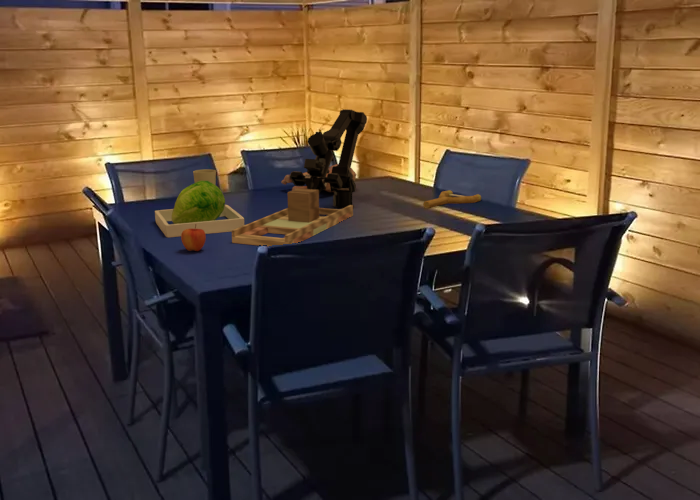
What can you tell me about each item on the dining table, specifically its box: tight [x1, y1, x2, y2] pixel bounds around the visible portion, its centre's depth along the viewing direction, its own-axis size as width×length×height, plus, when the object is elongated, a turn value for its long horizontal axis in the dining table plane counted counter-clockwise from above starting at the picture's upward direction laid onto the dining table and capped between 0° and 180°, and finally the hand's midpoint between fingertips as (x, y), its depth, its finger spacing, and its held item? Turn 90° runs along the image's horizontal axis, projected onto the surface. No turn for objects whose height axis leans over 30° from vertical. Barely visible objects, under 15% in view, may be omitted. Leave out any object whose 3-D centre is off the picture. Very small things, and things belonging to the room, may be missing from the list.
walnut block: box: [287, 188, 320, 223], centre depth 268 cm, size 8×8×10 cm
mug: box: [192, 168, 217, 186], centre depth 315 cm, size 11×10×12 cm
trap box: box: [231, 204, 354, 247], centre depth 264 cm, size 51×20×4 cm, turn 157°
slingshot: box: [422, 190, 482, 209], centre depth 305 cm, size 18×3×25 cm
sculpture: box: [280, 163, 357, 194], centre depth 330 cm, size 12×26×30 cm
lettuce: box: [171, 181, 226, 224], centre depth 269 cm, size 17×20×17 cm
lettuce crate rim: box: [154, 204, 245, 238], centre depth 269 cm, size 26×26×4 cm
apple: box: [180, 224, 207, 252], centre depth 235 cm, size 7×7×8 cm
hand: (308, 199), depth 271 cm, fingers closed, pressing on walnut block
